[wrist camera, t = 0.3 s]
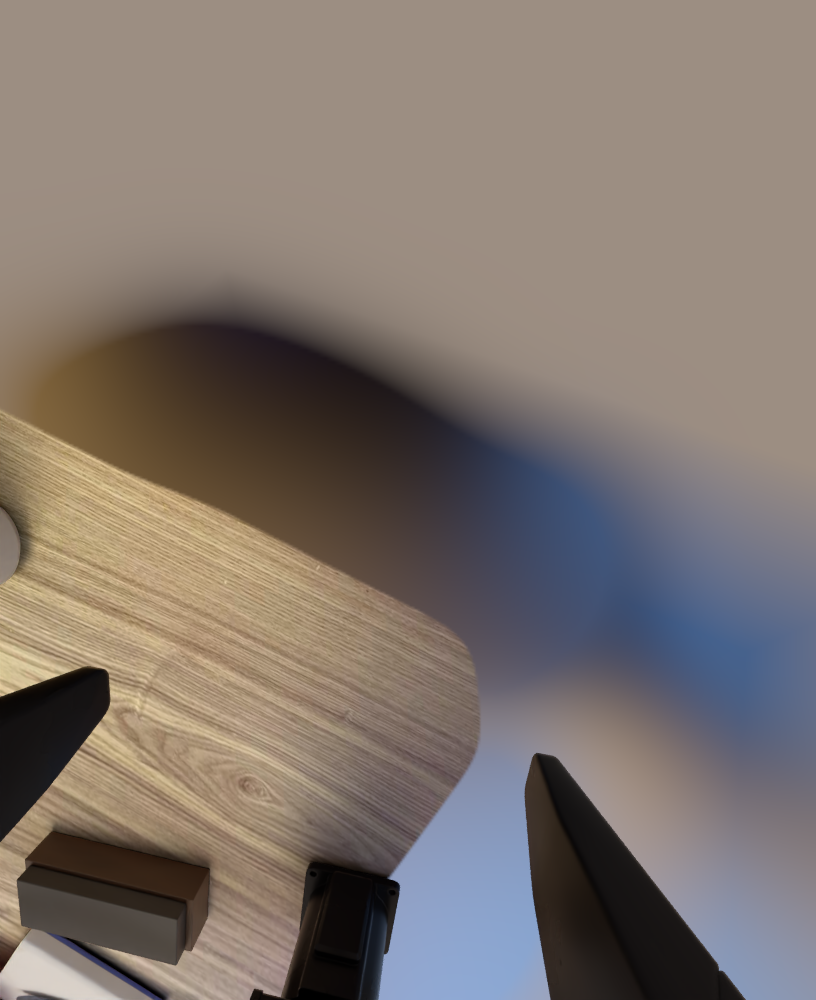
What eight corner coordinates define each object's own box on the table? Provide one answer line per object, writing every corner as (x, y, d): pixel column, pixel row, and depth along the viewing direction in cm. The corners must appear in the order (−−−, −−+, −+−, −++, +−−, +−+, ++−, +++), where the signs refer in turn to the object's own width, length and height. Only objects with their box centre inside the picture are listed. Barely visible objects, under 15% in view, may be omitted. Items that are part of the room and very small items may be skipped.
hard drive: (40, 917, 33) (169, 998, 34) (6, 968, 35) (129, 1043, 36) (20, 942, 31) (155, 1026, 32) (-14, 993, 33) (114, 1072, 34)
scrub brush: (207, 918, 31) (182, 971, 28) (55, 880, 32) (15, 927, 29) (209, 868, 30) (183, 918, 27) (51, 830, 31) (9, 875, 28)
